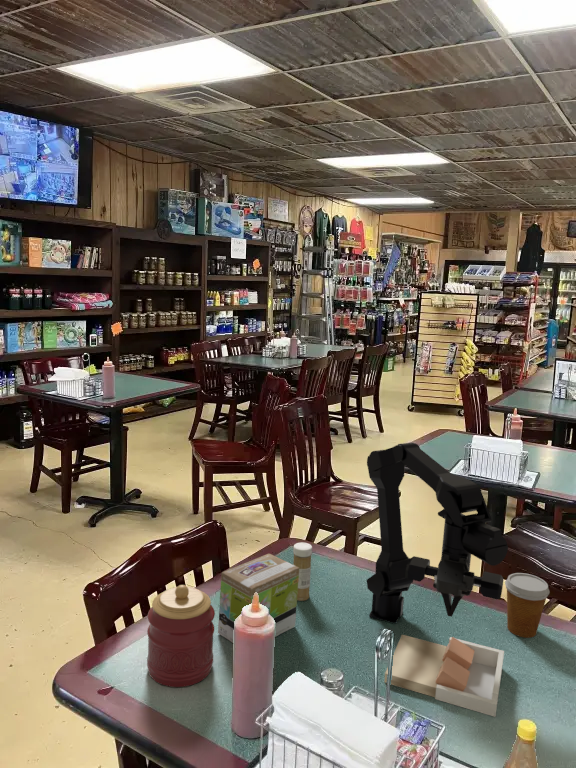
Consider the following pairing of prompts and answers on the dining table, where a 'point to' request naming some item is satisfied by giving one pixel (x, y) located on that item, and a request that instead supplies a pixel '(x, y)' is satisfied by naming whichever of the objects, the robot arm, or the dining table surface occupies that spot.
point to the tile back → (459, 653)
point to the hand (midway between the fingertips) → (450, 615)
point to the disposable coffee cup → (525, 603)
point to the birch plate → (416, 665)
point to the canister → (180, 637)
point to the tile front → (452, 675)
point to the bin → (478, 681)
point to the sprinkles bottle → (303, 568)
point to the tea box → (259, 592)
